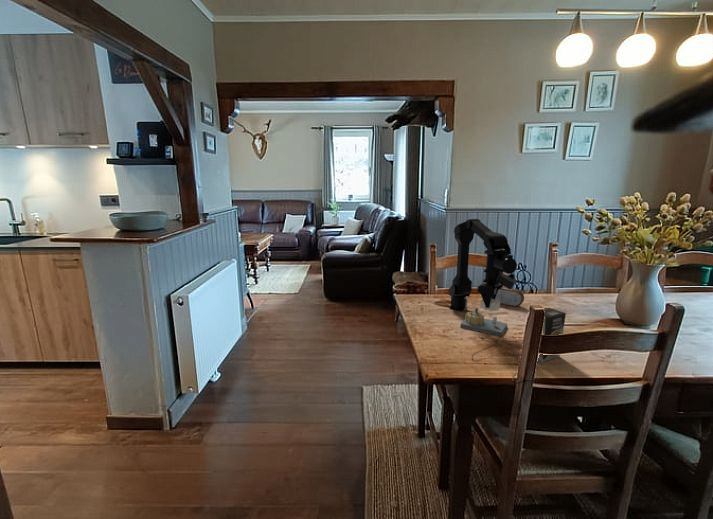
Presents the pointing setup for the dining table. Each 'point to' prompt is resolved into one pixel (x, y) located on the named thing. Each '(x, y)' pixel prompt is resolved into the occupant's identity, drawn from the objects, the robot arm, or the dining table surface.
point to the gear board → (483, 323)
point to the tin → (510, 296)
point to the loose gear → (491, 305)
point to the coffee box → (552, 328)
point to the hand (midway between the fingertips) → (490, 305)
